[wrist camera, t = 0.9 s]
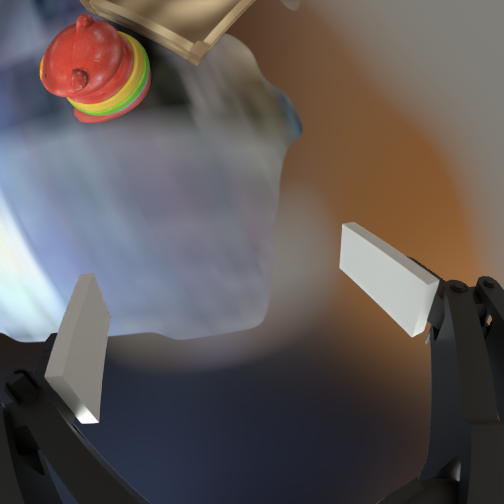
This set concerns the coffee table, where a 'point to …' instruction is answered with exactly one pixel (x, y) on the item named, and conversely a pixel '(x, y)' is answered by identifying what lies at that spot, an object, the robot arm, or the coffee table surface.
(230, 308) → the coffee table surface
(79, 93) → the stacking bear
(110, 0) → the crate
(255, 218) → the coffee table surface
